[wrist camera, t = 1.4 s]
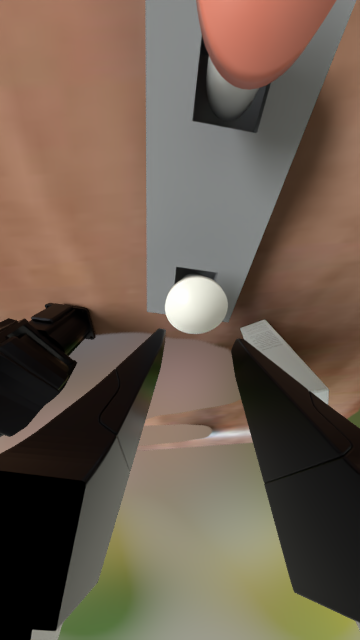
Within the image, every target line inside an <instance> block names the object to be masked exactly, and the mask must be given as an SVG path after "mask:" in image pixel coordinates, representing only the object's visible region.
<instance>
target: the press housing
mask: <svg viewBox="0 0 360 640" xmlns="http://www.w3.org/2000/svg"><path fill="white" fill-rule="evenodd" d="M355 2H356V0H336V2H335V4H334V5H333V7H332V8H331V10H330V12H329V13H328V15H327V17H326V18H325V20H324V21H323V23H322V24H321V26H320V27H319V29H318V30H317V32H316V33H315V35H314V36H313V38H312V39H311V41H310V42H309V44H308V45H307V47H306V48H305V49H304V51H303V52H302V54H301V55H300V56H299V57H298V59H297V60H296V61H295V62H294V63H293V65H292V66H291V67H290V68H289V69H288V70H287V71H286V72H285V73H284V74H282V75H281V76H280V77H279V78H277V79H276V80H275V81H273V82H271V83H269V84H268V85H266V86H263V87H260V88H259V90H258V91H257V93H256V95H255V97H254V99H253V101H252V103H251V104H250V106H249V107H248V109H247V110H246V111H245V112H244V113H243V114H242V115H241V116H240V117H238V118H237V119H235V120H232V121H225V120H222V119H220V118H218V117H217V116H216V115H215V113H214V112H213V110H212V109H211V107H210V104H209V101H208V97H207V90H206V74H207V66H208V58H209V54H208V52H207V50H206V47H205V44H204V40H203V37H202V33H201V29H200V24H199V19H198V11H197V4H196V0H146V204H147V312H153V313H160V314H166V313H165V303H166V299H167V296H168V293H169V291H170V289H171V288H172V287H173V286H174V285H175V284H176V283H177V282H178V281H180V280H181V279H182V278H183V277H184V276H186V275H188V274H191V273H197V274H200V275H202V276H205V277H208V278H210V279H212V280H214V281H215V282H217V283H218V284H219V285H220V287H221V288H222V290H223V291H224V293H225V295H226V297H227V301H228V309H227V313H226V316H225V318H224V319H223V321H222V322H229V319H230V317H231V314H232V312H233V309H234V307H235V304H236V302H237V299H238V297H239V294H240V292H241V289H242V287H243V284H244V282H245V279H246V276H247V274H248V271H249V269H250V266H251V264H252V261H253V259H254V256H255V254H256V251H257V249H258V246H259V244H260V241H261V239H262V236H263V234H264V231H265V229H266V226H267V224H268V221H269V219H270V216H271V214H272V211H273V209H274V206H275V204H276V201H277V199H278V196H279V193H280V191H281V188H282V186H283V183H284V181H285V178H286V176H287V173H288V171H289V168H290V166H291V163H292V161H293V158H294V156H295V153H296V151H297V148H298V146H299V143H300V141H301V138H302V136H303V133H304V131H305V128H306V126H307V123H308V121H309V118H310V116H311V113H312V110H313V108H314V105H315V103H316V100H317V98H318V95H319V93H320V90H321V88H322V85H323V83H324V80H325V78H326V75H327V73H328V70H329V68H330V65H331V63H332V60H333V58H334V55H335V53H336V50H337V48H338V45H339V43H340V40H341V38H342V35H343V33H344V30H345V27H346V25H347V22H348V20H349V17H350V15H351V12H352V10H353V7H354V5H355Z"/></svg>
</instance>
